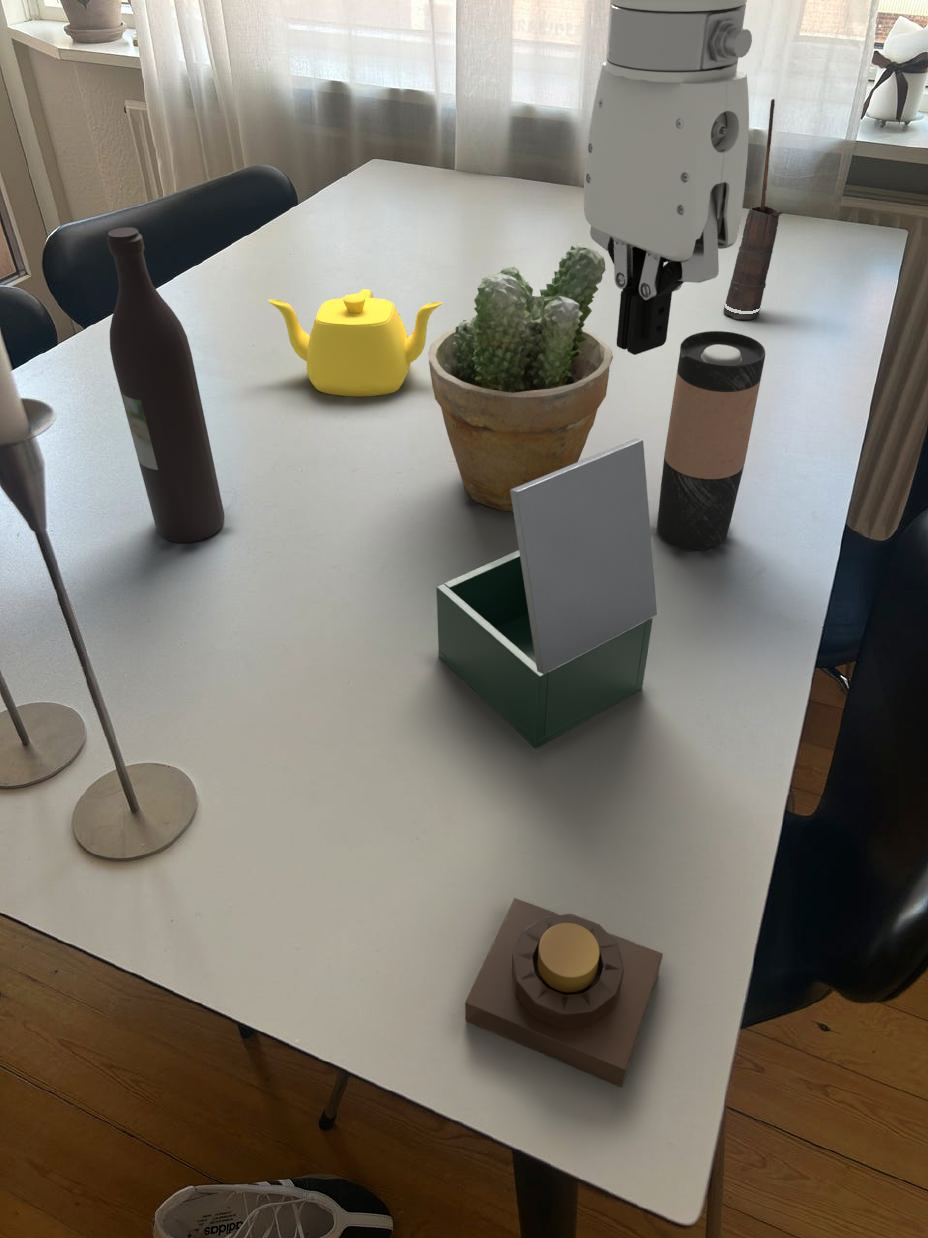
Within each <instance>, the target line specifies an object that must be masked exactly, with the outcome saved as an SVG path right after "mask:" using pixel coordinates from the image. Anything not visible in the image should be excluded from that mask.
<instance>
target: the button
mask: <svg viewBox="0 0 928 1238" xmlns="http://www.w3.org/2000/svg"><path fill="white" fill-rule="evenodd" d="M599 955H600V950H599V945H598V943H597V940H596V939H595V937H594V936H593V935H592V933H591V932H589V931H588V930H587V929H586V928H584V927H582V926H580V925H577V924H573V923H561V924H557V925H554V926H552V927H551V928H549V929H548V930H547V931H546V932H545V933H544V934H543V935H542V937H541V939H540V942H539V949H538V970H539V973H540V975H541V977H542V978H543V980H544V981H545V982H546V983H547V984H548V985H549V986H550V987H552V988H554V989H556V990H558V991H561V992H566V993H573V992H578V991H581V990H583V989H585V988H587V987H588V986H589V985H590V984H591V983H592V982H593V981H594V979H595V977H596V974H597V969H598V962H599Z"/></svg>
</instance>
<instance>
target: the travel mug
mask: <svg viewBox="0 0 928 1238" xmlns="http://www.w3.org/2000/svg"><path fill="white" fill-rule="evenodd" d="M679 347H680V348H679V355H678V356H679V357H678V362H677V369H676V375H675V382H674V389H673V395H672V400H671V401H672V402H671V410H670V414H669V415H670V416H669V421H668V428H667V434H666V435H667V436H666V441H665V448H664V455H663V463H662V474H661V481H660V482H661V483H660V492H659V493H660V494H659V500H658V501H659V503H658V512H657V522H656V530H657V534H658V536H659V537H660V539H661V540H662V541H663V542H664V543H666V544H667V545H669V546H670V547H673V548H676V549H678V550H681V551H687V552H697V553H698V552H699V553H700V552H701V553H702V552H709V551H712V550H715V549H718V548H719V547H721V546H722V545H723V544H724V543H725V541H726V540H727V537H728V534H729V530H730V526H731V523H732V518H733V514H734V509H735V506H736V502H737V498H738V497H737V496H738V493H739V488H740V485H741V480H742V476H743V473H744V467H745V464H746V458H747V453H748V449H749V444H750V443H749V442H750V438H751V432H752V427H753V423H754V422H753V421H754V417H755V411H756V406H757V402H758V396H759V391H760V386H761V380H762V376H763V370H764V365H765V359H766V349H765V347H764V346H763V344H762V343H761V342H759V341H757V340H756V339H755V338H752V337H750V336H748V335H744V334H742V333H737V332H731V331H723V330H710V331H702V332H697V333H694V334H691V335H689V336H687V337H686V338H684V339H683V340H682V342H681V343H680V346H679Z"/></svg>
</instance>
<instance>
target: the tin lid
mask: <svg viewBox="0 0 928 1238" xmlns="http://www.w3.org/2000/svg"><path fill="white" fill-rule="evenodd" d="M645 459H646V457H645V446H644V440H643V439H640V438H633V439H630V440H628V441H625V442H623V443H621V444H618V445H616V446H613V447H611V448H609V449H606V450H604V451H602V452H598V453H597V454H595V455H592V456H589V457H587V458H584V459H581V460H578V462H577V463H574V464H572V465H570V466H567V467H565V468H562V469H560V470H557V471H555V472H552V473H550V474H548V475H545V476H543V477H540V478H538V479H535V480H533V481H530V482H528V483H526V484H523V485H521V486H518V487H516V488H513V489H511V490H510V492H511V499H512V505H513V511H512V512H513V518H514V524H515V531H516V538H517V544H518V545H517V546H518V550H519V552H520V559H521V566H522V572H523V579H524V586H525V593H526V599H527V606H528V613H529V619H530V626H531V633H532V640H533V646H534V653H535V660H536V666H537V671H538V672H540V673H542V674H545V673H547V672H549V671H551V670H553V669H555V668H557V667H559V666H560V665H562V664H564V663H566V662H568V661H570V660H572V659H574V658H576V657H578V656H579V655H581V654H583V653H585V652H587V651H589V650H591V649H593V648H595V647H597V646H598V645H600V644H602V643H604V642H606V641H608V640H610V639H612V638H614V637H616V636H617V635H619V634H621V633H623V632H625V631H627V630H629V629H631V628H633V627H635V626H636V625H638V624H640V623H642V622H644V621H646V620H648V619H650V618H653V617H655V616H657V615H658V610H657V597H656V585H655V573H654V572H655V571H654V560H653V548H652V536H651V535H652V534H651V533H652V532H651V523H650V521H651V520H650V509H649V508H650V507H649V496H648V484H647V483H648V482H647V472H646V470H647V469H646V460H645Z"/></svg>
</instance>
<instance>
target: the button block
mask: <svg viewBox="0 0 928 1238" xmlns="http://www.w3.org/2000/svg"><path fill="white" fill-rule="evenodd" d="M561 923H573V924H577V925H580V926H582V927H584V928H586V929H587V930H588V931H589V932H591V933H592V935H593V936H594V937H595V939H596V940H597V943H598V945H599V950H600V955H599V962H598V969H597V974H596V977H595V979H594V981H593V982H592V983H591V984H590V985H589V986H588V987H587V988H585V989H583V990H581V991H578V992H573V993H566V992H561V991H558V990H556V989H554V988H552V987H550V986H549V985H548V984H547V983H546V982H545V981H544V980H543V978H542V977H541V975H540V973H539V970H538V949H539V942H540V939H541V937H542V935H543V934H544V933H545V932H546V931H547V930H548V929H549V928H551V927H552V926H554V925H557V924H561ZM663 956H664V954H663V953H662V952H660V951H658V950H654V949H652V948H650V947H647V946H644V945H642V944H639V943H637V942H634V941H631V940H628V939H625V938H623V937H620V936H618V935H615V934H612V933H609V932H607V931H606V930H605V929H604V927H603V926H601V924H599V923H597V922H595V921H593V920H589V919H587V918H585V917H581V916H579V915H577V914H572V913H567V914H566V913H565V914H559V913H556V912H553V911H551V910H548V909H545V908H543V907H540V906H537V905H535V904H532V903H529V902H527V901H524V900H522V899H519V898H516V897H515V898H514V899H513V901H512V903H511V904H510V907H509V909H508V911H507V913H506V915H505V918H504V920H503V921H502V924H501V926H500V928H499V930H498V932H497V934H496V937H495V938H494V941H493V943H492V945H491V947H490V949H489V951H488V952H487V955H486V958H485V959H484V962H483V963H482V966H481V969H480V970H479V972H478V974H477V977H476V979H475V981H474V983H473V985H472V987H471V989H470V991H469V993H468V996H467V998H466V1000H465V1003H464V1006H465V1007H464V1008H465V1009H464V1010H465V1011H464V1012H465V1013H464V1014H465V1022H468V1023H470V1024H471V1025H472V1024H473V1025H475V1026H477V1027H479V1028H482V1029H484V1030H487V1031H488V1032H491V1033H494V1034H496V1035H498V1036H501V1037H503V1038H505V1039H508V1040H510V1041H512V1042H514V1043H517V1044H519V1045H521V1046H524V1047H526V1048H528V1049H531V1050H532V1051H535V1052H538V1053H540V1054H541V1055H544V1056H547V1057H549V1058H552V1059H554V1060H557V1061H559V1062H561V1063H564V1064H566V1065H567V1066H571V1067H573V1068H576V1069H578V1070H580V1071H583V1072H585V1073H587V1074H590V1075H592V1076H594V1077H597V1078H599V1079H601V1080H604V1081H606V1082H608V1083H611V1084H613V1085H615V1086H618V1087H619V1088H623V1087H624V1083H625V1080H626V1076H627V1074H628V1071H629V1068H630V1064H631V1060H632V1057H633V1055H634V1051H635V1048H636V1045H637V1042H638V1038H639V1036H640V1032H641V1030H642V1026H643V1023H644V1020H645V1017H646V1015H647V1011H648V1008H649V1005H650V1001H651V998H652V996H653V995H652V994H653V991H654V989H655V986H656V983H657V980H658V976H659V973H660V968H661V965H662V960H663Z"/></svg>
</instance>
